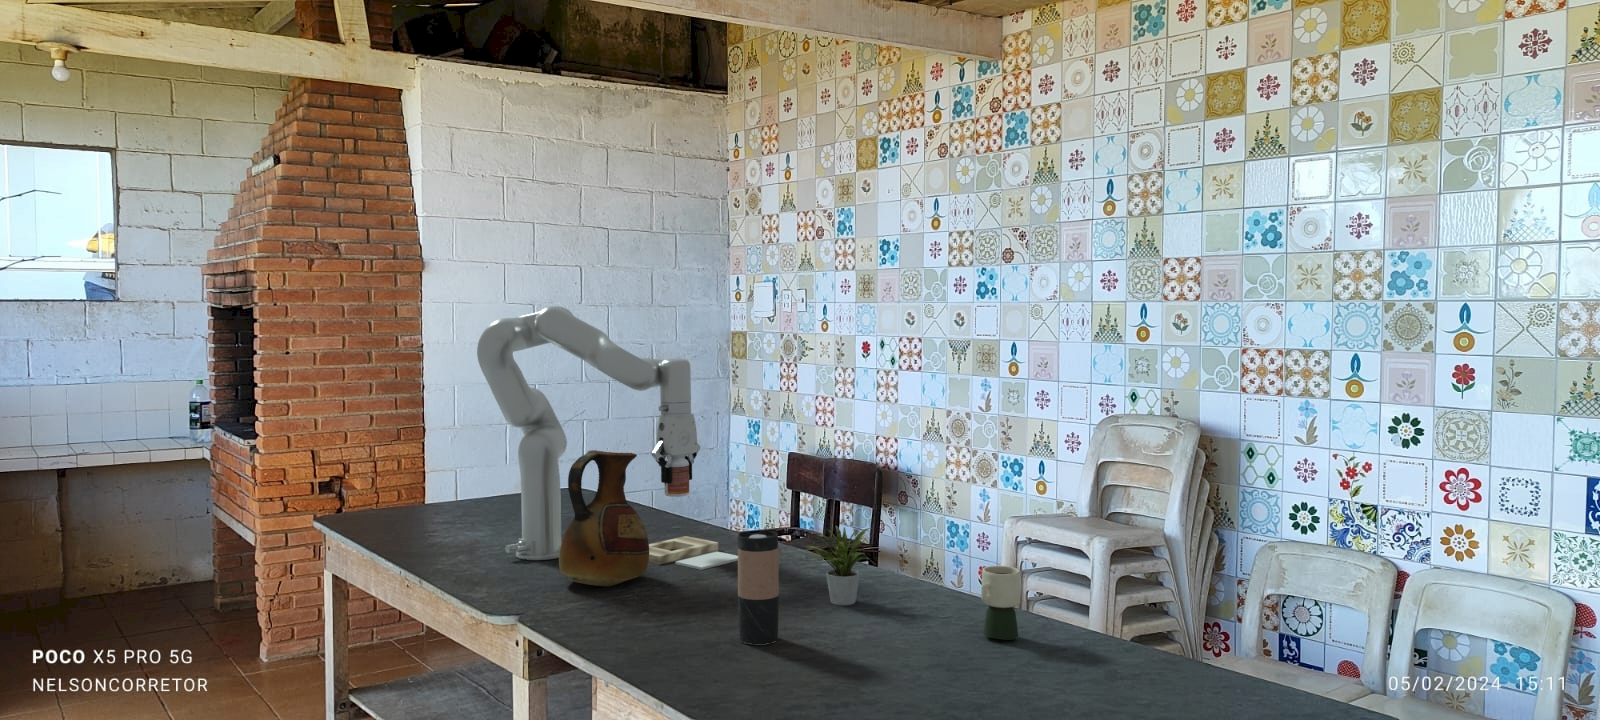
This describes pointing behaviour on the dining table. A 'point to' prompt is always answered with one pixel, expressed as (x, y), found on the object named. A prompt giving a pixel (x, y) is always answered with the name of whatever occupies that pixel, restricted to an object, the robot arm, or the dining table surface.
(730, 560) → the mat
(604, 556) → the ceramic pitcher
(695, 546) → the wooden rectangular frame
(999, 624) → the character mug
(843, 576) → the house plant
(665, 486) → the pill bottle
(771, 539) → the travel mug
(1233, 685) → the dining table surface
